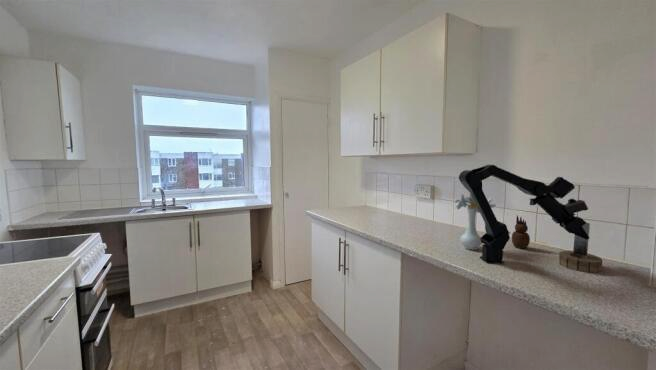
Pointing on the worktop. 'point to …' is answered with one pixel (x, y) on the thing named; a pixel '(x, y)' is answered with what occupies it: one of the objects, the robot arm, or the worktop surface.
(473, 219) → the flower vase
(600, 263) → the segmented wooden ring
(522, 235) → the wooden figurine
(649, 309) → the worktop surface
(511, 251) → the worktop surface
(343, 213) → the worktop surface
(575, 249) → the tall steel post
